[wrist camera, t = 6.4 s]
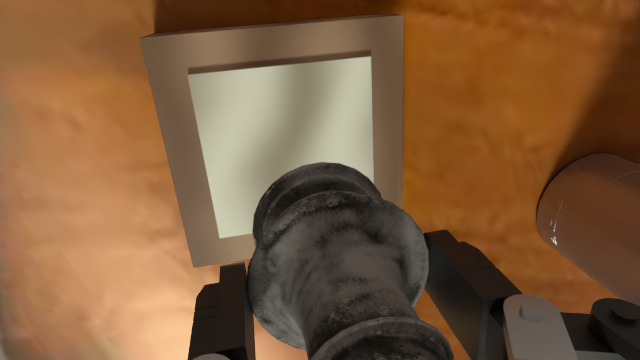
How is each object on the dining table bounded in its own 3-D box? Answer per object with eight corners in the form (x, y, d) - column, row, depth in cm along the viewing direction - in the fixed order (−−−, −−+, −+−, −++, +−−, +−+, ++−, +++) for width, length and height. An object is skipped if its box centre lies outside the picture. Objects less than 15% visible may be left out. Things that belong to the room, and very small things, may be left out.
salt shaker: (239, 158, 14) (242, 620, 4) (397, 149, 15) (777, 489, 5) (249, 294, 17) (270, 829, 6) (387, 279, 18) (624, 711, 7)
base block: (380, 13, 26) (405, 15, 22) (383, 207, 32) (403, 235, 28) (153, 33, 24) (137, 38, 20) (198, 236, 30) (192, 270, 26)
